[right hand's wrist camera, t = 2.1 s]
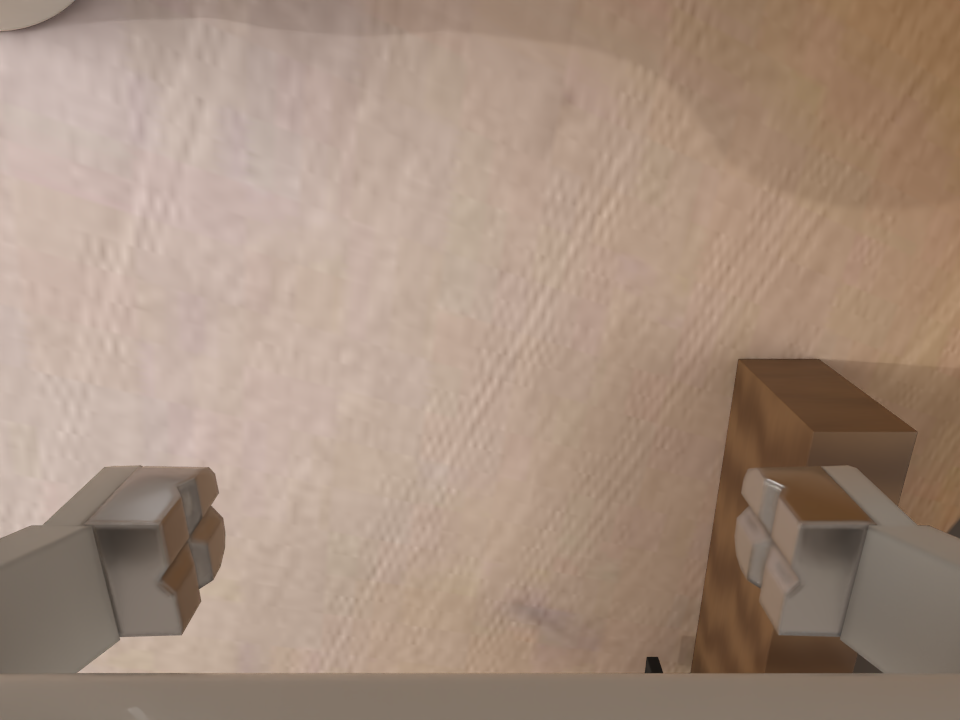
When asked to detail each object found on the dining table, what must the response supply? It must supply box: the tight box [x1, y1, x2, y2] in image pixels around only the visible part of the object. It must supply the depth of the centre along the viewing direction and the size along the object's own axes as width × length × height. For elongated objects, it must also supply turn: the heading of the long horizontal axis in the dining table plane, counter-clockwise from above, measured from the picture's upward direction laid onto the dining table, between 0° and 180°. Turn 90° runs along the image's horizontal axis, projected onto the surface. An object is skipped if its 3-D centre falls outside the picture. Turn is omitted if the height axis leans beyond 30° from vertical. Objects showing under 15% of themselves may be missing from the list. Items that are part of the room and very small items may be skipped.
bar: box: [691, 359, 917, 673], centre depth 39 cm, size 26×5×9 cm, turn 0°
